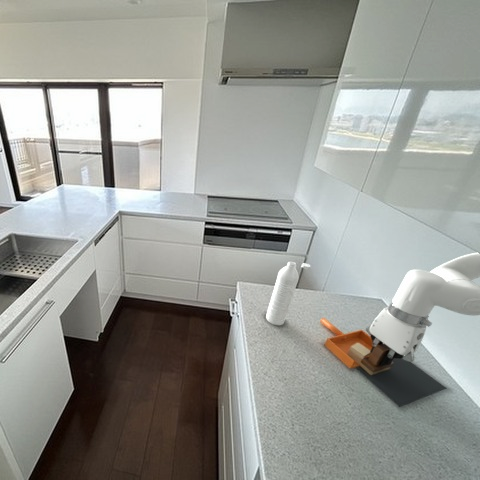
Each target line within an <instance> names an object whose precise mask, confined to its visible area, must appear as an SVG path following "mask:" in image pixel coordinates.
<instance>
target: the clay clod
mask: <svg viewBox="0 0 480 480" xmlns="http://www.w3.org/2000/svg"><path fill="white" fill-rule="evenodd" d="M370 354H371V352H370V350H369V349H367V348H366V347H364V346H363V345H361V344H360V343H356V344H355V345H353V346H351V348H350V350H349V352H348V354H347V355H348V356H349V357H350V358H351V359H353V360H354V361H355V362H356V363H358V364H359V365H360V364H361V360H362V359H364V358H367V357H369V356H370Z"/></svg>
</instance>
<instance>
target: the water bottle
mask: <svg viewBox="0 0 480 480" xmlns="http://www.w3.org/2000/svg"><path fill="white" fill-rule="evenodd" d="M296 267H297V263H296V262H295V261H292V260H291V261H290V260H289V261H288V262H287V265H286V266H284V267H282V268H281V269H280V270H279V271H278V273H277V277H276V281H275V284H274V287H273V291H272V295H271V297H270V301H269V304H268V307H267V310H266V311H267V312H266V315H265V319H266V320H267V322H268V323H270V324H271V325H274V326H283V325H284V324H285V322H286V318H287V316H288V313H289V309H290V307H291V303H292V300H293V297H294V293H295V291H296V288H297V286H298V285H297V284H298V282H299V279H300V275H299V272H298V270H297V268H296ZM300 267H301V268H302V269H303V270H304V269H305V270H309V269H311V264H309V263H306V262H302V263H301V266H300Z"/></svg>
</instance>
